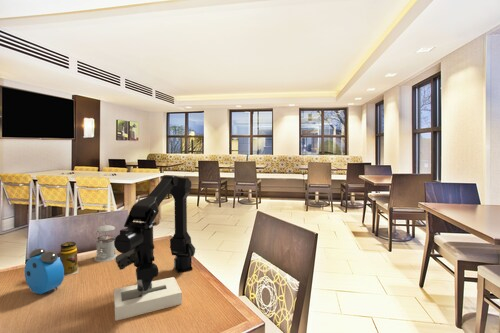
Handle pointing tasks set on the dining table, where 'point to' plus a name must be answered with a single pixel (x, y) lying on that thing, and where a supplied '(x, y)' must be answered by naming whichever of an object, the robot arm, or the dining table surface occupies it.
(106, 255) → the french press
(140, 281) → the keyhole peg
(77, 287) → the dining table surface
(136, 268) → the robot arm
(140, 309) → the keyhole board
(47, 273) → the alarm clock
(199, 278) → the dining table surface
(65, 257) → the condiment
